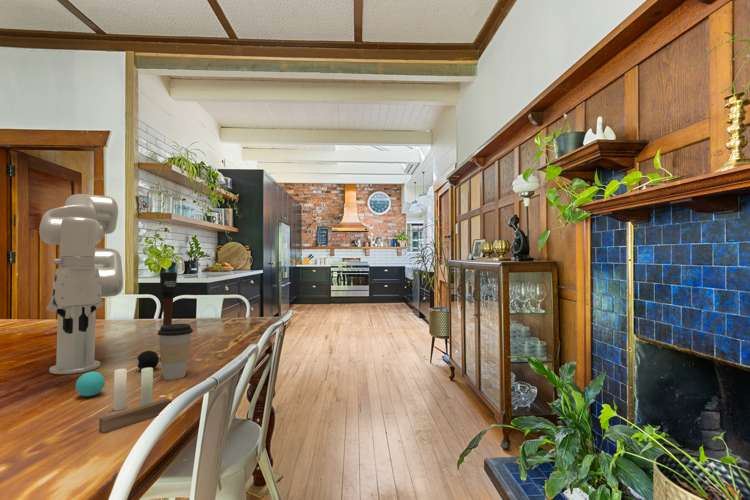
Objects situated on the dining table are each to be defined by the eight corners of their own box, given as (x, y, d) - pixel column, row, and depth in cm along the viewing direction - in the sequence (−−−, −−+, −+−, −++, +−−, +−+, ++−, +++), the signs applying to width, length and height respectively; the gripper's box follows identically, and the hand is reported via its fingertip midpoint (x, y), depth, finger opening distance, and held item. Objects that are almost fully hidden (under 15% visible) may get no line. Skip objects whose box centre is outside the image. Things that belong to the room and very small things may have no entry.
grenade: (157, 363, 131) (159, 272, 132) (156, 359, 136) (158, 272, 136) (176, 360, 134) (178, 272, 135) (174, 357, 139) (177, 272, 139)
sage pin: (138, 407, 93) (139, 369, 93) (148, 404, 95) (149, 366, 95) (143, 409, 91) (144, 370, 92) (154, 406, 93) (155, 368, 94)
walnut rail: (99, 430, 80) (99, 418, 80) (166, 409, 92) (166, 398, 92) (103, 433, 79) (104, 420, 79) (171, 410, 91) (171, 400, 91)
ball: (71, 396, 99) (71, 372, 99) (97, 390, 104) (98, 367, 104) (81, 401, 96) (82, 377, 96) (108, 394, 101) (109, 371, 101)
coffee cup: (155, 383, 110) (157, 329, 110) (156, 374, 119) (158, 324, 119) (192, 379, 115) (194, 327, 115) (191, 370, 123) (192, 322, 123)
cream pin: (111, 409, 91) (112, 370, 92) (122, 406, 94) (123, 367, 94) (116, 411, 90) (117, 372, 90) (127, 408, 92) (128, 369, 92)
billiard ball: (161, 370, 123) (161, 351, 123) (139, 374, 118) (140, 354, 119) (154, 366, 127) (155, 347, 127) (133, 370, 123) (134, 350, 123)
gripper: (45, 263, 97) (43, 338, 96) (117, 263, 110) (115, 329, 110) (34, 263, 101) (31, 335, 100) (104, 262, 114) (102, 326, 114)
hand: (75, 331), depth 105 cm, fingers open, 2 cm apart
